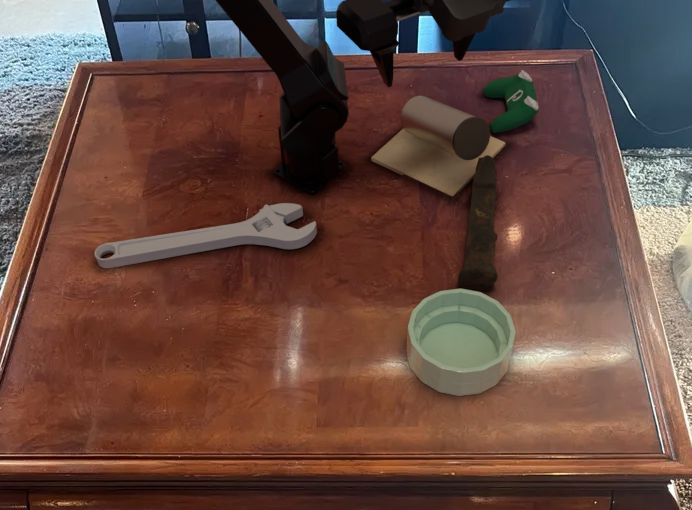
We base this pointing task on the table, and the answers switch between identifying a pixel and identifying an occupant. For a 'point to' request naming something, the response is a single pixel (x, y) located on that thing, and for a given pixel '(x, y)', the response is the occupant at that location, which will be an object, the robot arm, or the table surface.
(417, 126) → the tin
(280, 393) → the table surface
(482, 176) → the hand tool
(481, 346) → the bowl
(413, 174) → the plate
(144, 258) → the adjustable wrench
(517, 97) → the gaming controller
